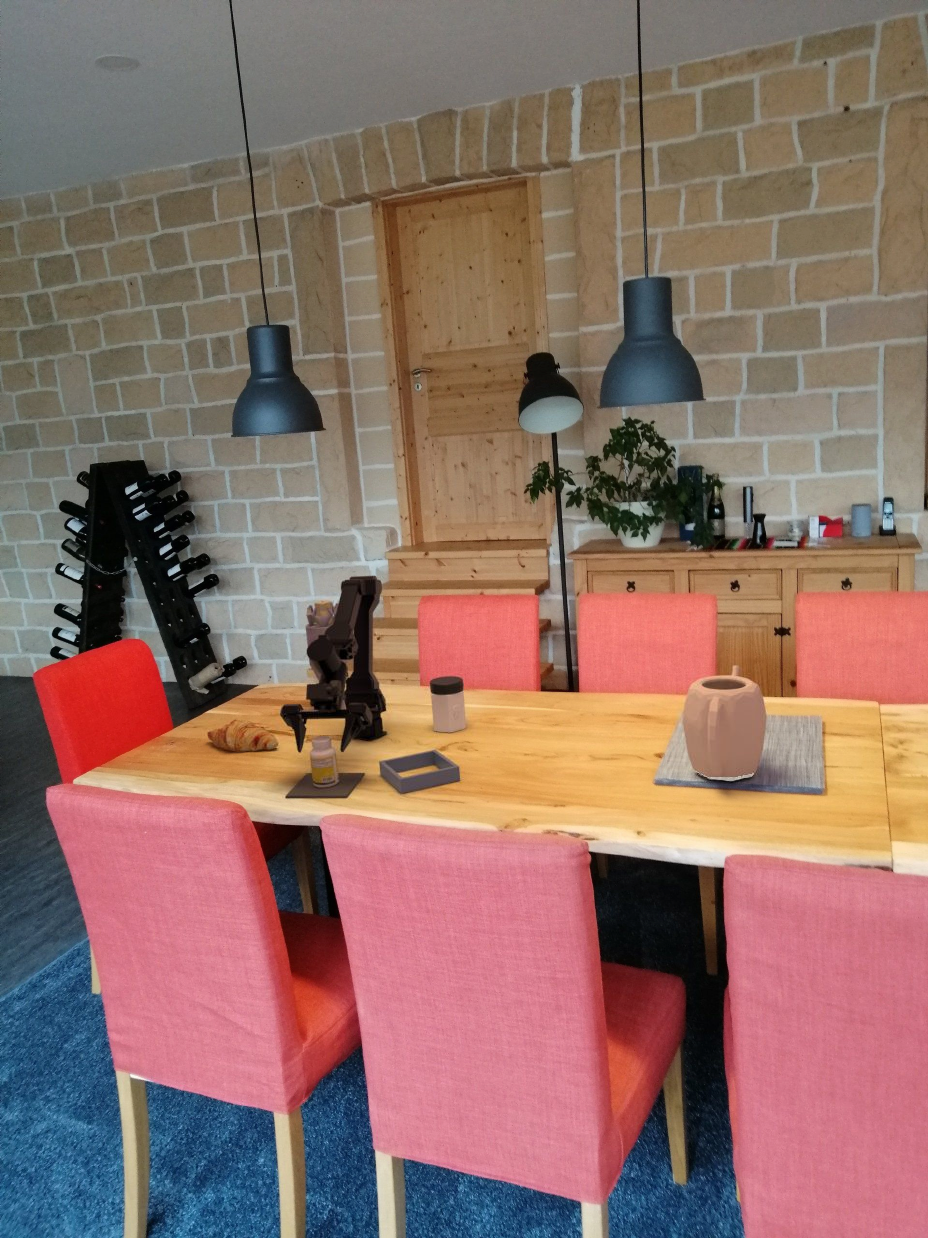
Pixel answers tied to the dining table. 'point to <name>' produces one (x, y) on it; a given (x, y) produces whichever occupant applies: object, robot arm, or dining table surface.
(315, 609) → the vase
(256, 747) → the croissant
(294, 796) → the mat
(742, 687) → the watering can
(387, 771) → the grey square frame
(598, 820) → the dining table surface
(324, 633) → the robot arm
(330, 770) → the supplement bottle
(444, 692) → the jar
